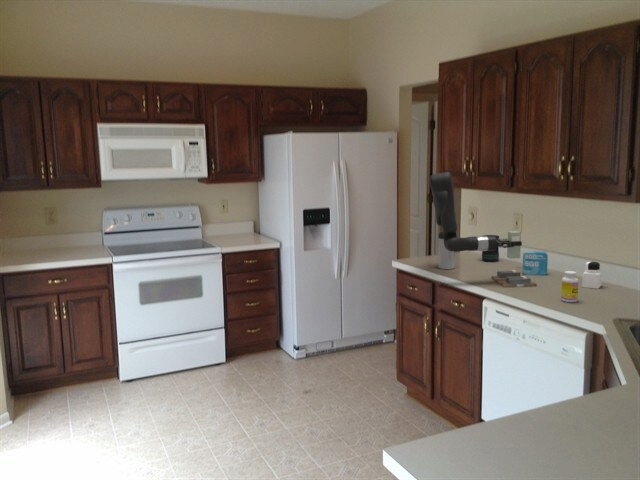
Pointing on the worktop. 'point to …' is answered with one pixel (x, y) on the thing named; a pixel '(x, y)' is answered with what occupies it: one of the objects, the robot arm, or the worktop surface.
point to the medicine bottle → (592, 275)
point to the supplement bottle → (569, 287)
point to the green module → (513, 251)
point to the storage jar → (491, 253)
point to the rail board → (503, 282)
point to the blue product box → (535, 263)
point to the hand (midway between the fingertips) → (519, 242)
